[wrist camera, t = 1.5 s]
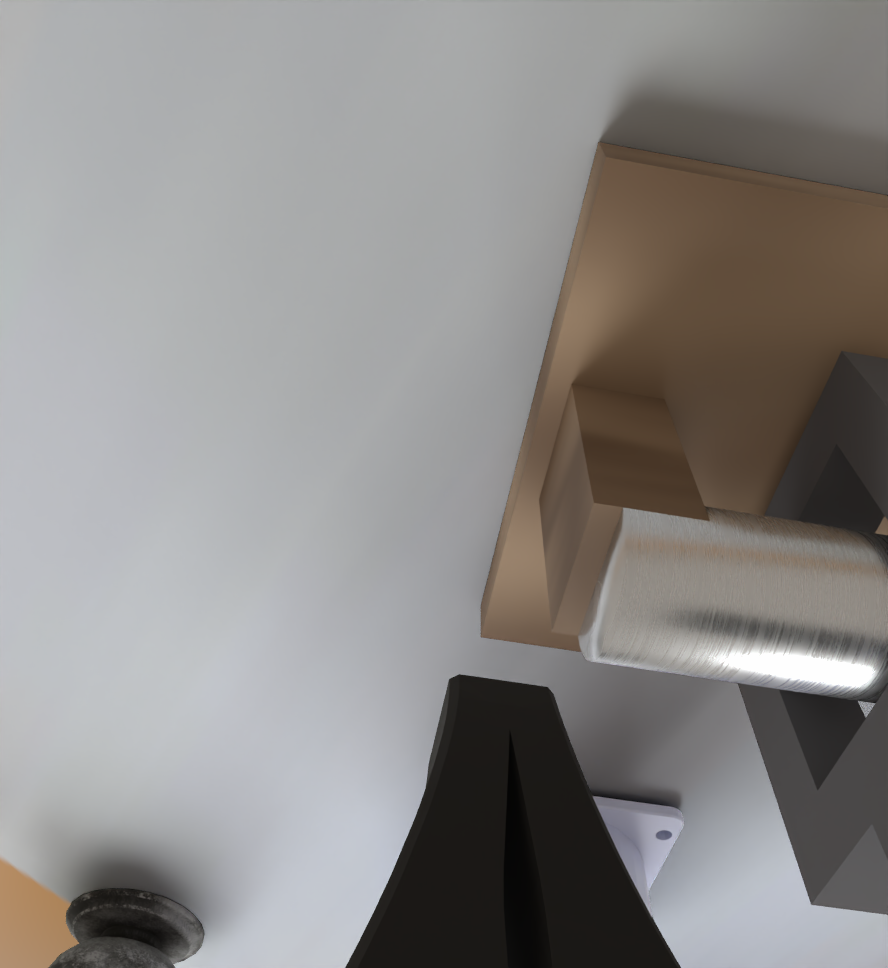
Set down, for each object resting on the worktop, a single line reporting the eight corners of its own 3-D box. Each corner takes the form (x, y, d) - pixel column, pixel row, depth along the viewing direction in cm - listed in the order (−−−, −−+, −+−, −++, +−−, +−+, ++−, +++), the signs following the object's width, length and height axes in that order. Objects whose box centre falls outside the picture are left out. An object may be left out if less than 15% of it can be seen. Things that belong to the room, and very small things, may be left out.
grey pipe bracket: (780, 627, 20) (942, 1011, 13) (716, 617, 20) (842, 999, 13) (921, 364, 16) (1258, 710, 9) (841, 351, 16) (1119, 689, 9)
